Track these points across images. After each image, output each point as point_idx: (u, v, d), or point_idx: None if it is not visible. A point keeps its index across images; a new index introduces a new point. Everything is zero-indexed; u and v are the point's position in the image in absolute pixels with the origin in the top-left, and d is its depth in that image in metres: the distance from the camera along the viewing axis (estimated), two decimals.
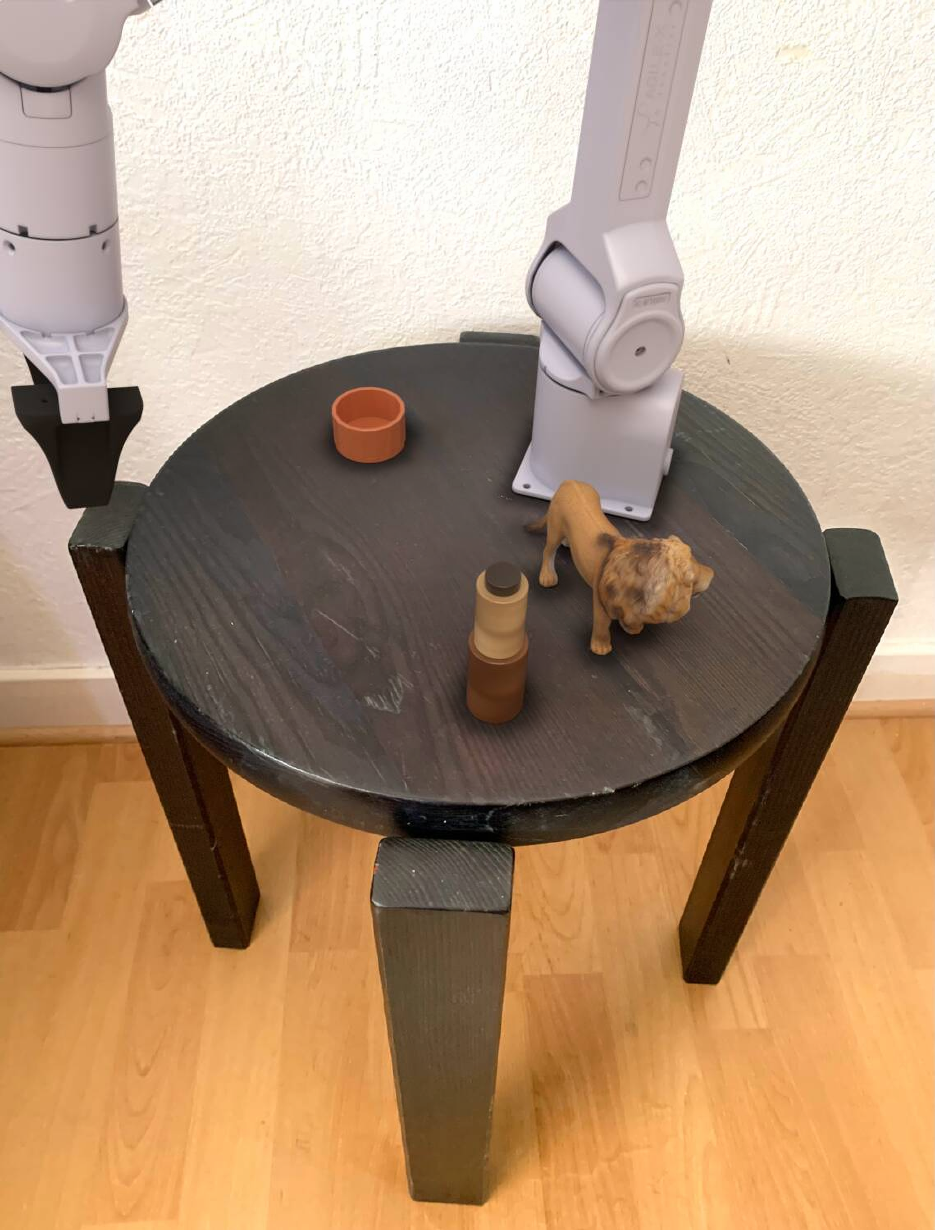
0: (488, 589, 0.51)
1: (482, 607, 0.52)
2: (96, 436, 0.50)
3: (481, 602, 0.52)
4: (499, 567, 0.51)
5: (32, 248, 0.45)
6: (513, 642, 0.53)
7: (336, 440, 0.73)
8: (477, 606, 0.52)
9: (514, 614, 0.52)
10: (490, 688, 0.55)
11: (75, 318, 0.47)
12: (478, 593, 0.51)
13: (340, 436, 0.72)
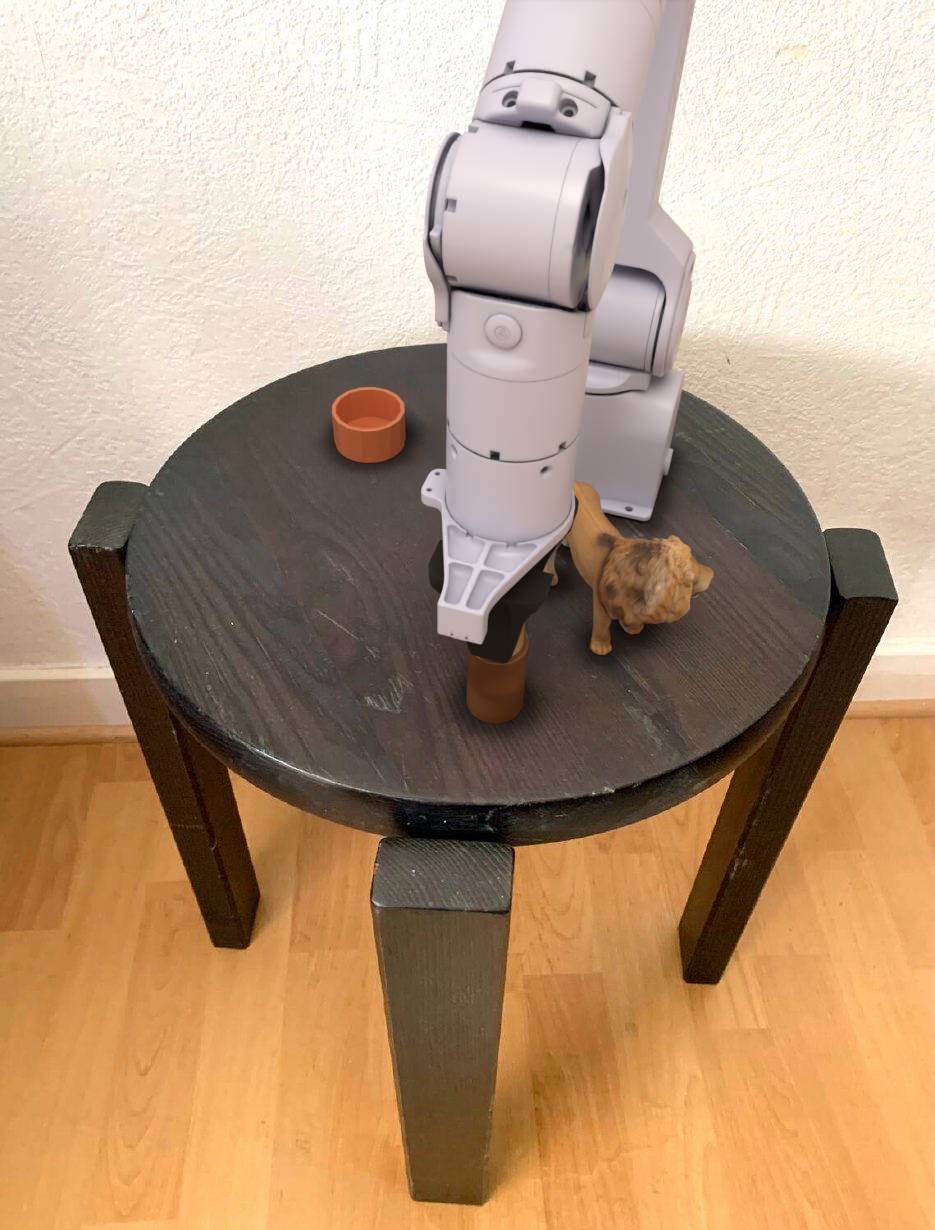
0: None
1: None
2: (504, 605, 0.50)
3: None
4: None
5: (470, 459, 0.43)
6: None
7: (336, 440, 0.73)
8: None
9: None
10: (490, 688, 0.55)
11: (499, 528, 0.45)
12: None
13: (340, 436, 0.72)
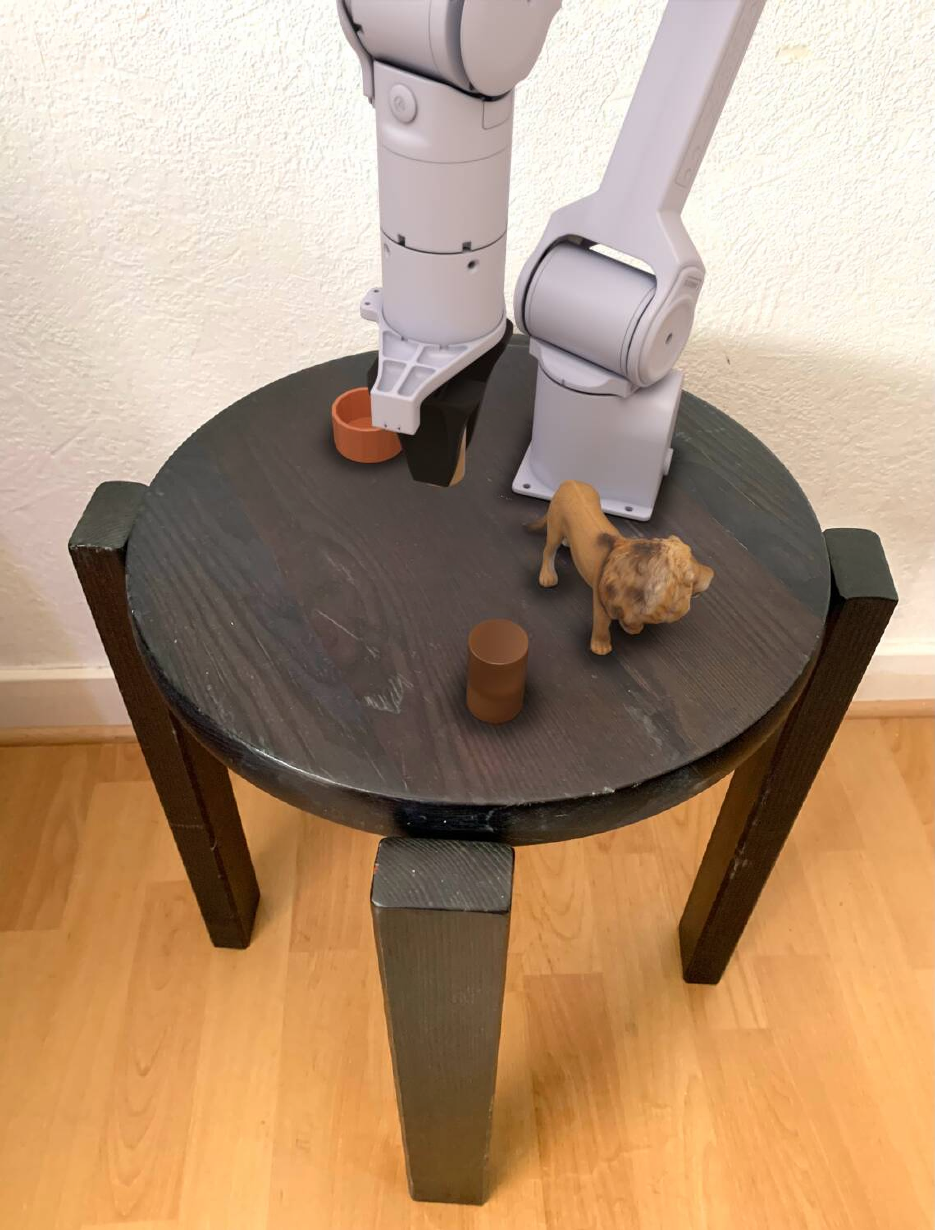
0: None
1: None
2: (441, 420, 0.52)
3: None
4: None
5: (401, 255, 0.45)
6: None
7: (336, 440, 0.73)
8: None
9: None
10: (490, 688, 0.55)
11: (431, 329, 0.47)
12: None
13: (340, 436, 0.72)
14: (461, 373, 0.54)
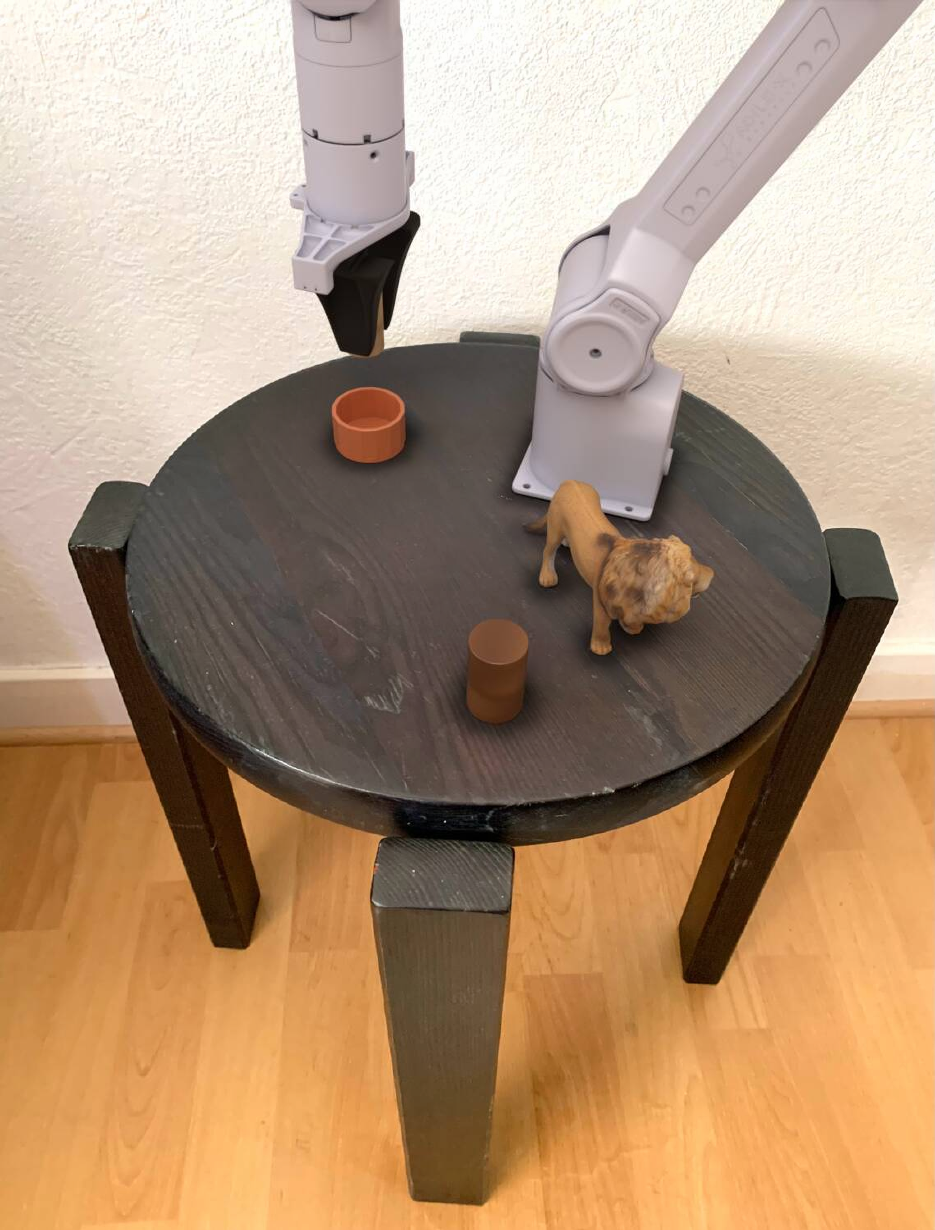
0: None
1: None
2: (359, 294, 0.63)
3: None
4: None
5: (316, 147, 0.56)
6: None
7: (336, 440, 0.73)
8: None
9: None
10: (490, 688, 0.55)
11: (344, 211, 0.58)
12: None
13: (340, 436, 0.72)
14: None
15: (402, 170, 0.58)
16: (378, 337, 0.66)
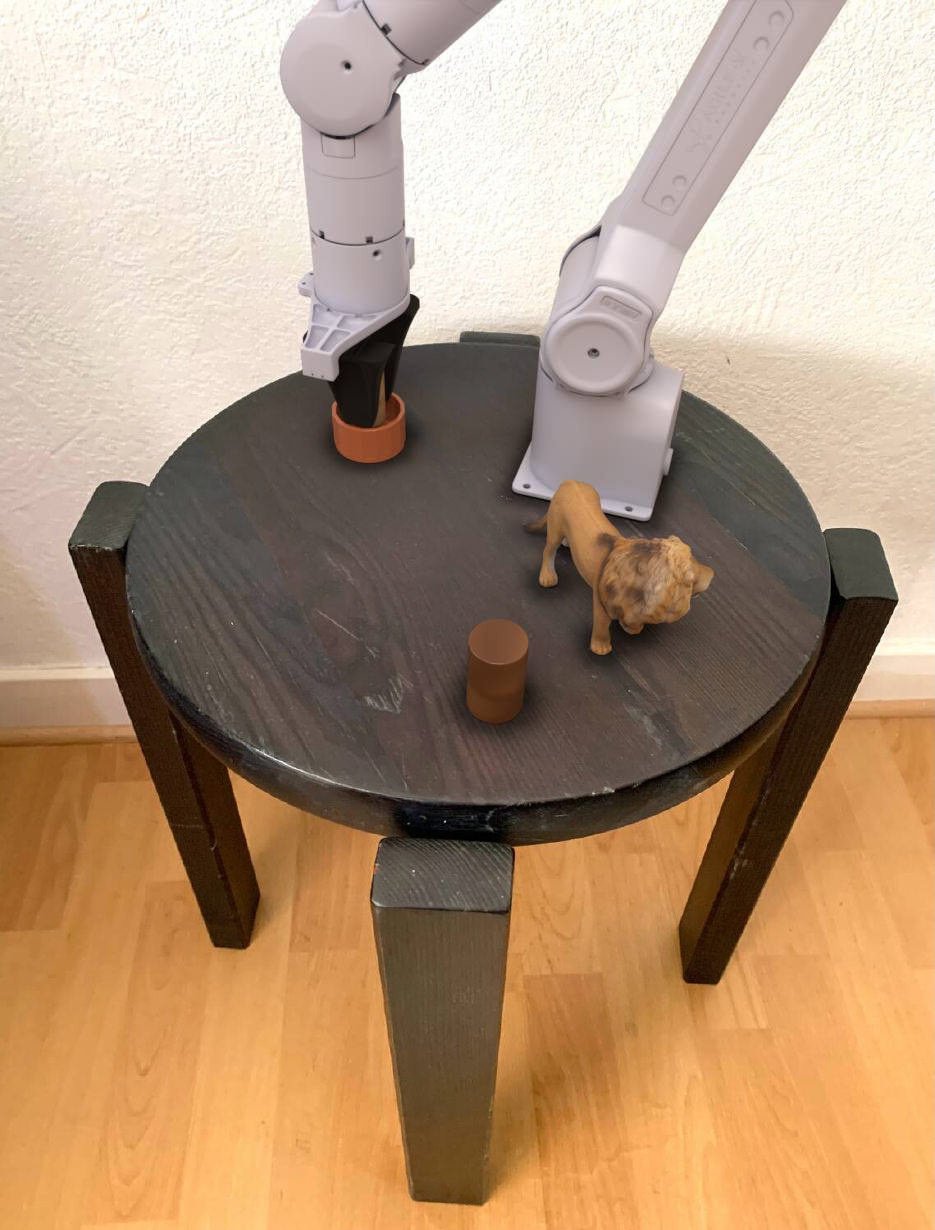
0: None
1: None
2: (362, 373, 0.67)
3: None
4: None
5: (323, 246, 0.61)
6: None
7: (336, 440, 0.73)
8: None
9: None
10: (490, 688, 0.55)
11: (348, 302, 0.63)
12: None
13: (340, 436, 0.72)
14: (380, 339, 0.69)
15: (402, 264, 0.63)
16: (380, 409, 0.71)
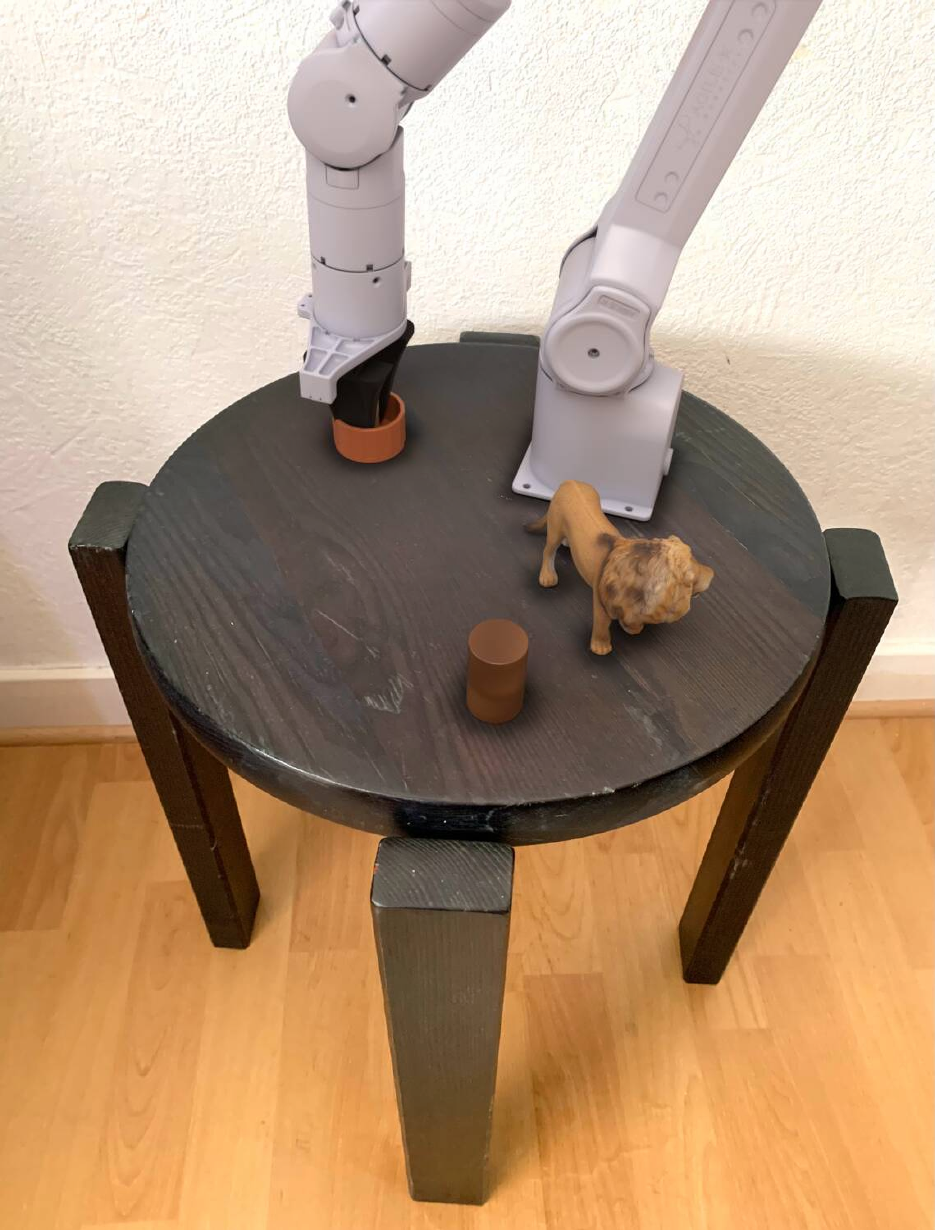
0: None
1: None
2: (360, 391, 0.69)
3: None
4: None
5: (324, 272, 0.62)
6: None
7: (336, 440, 0.73)
8: None
9: None
10: (490, 688, 0.55)
11: (347, 327, 0.64)
12: None
13: (340, 436, 0.72)
14: None
15: (401, 290, 0.64)
16: (374, 427, 0.72)
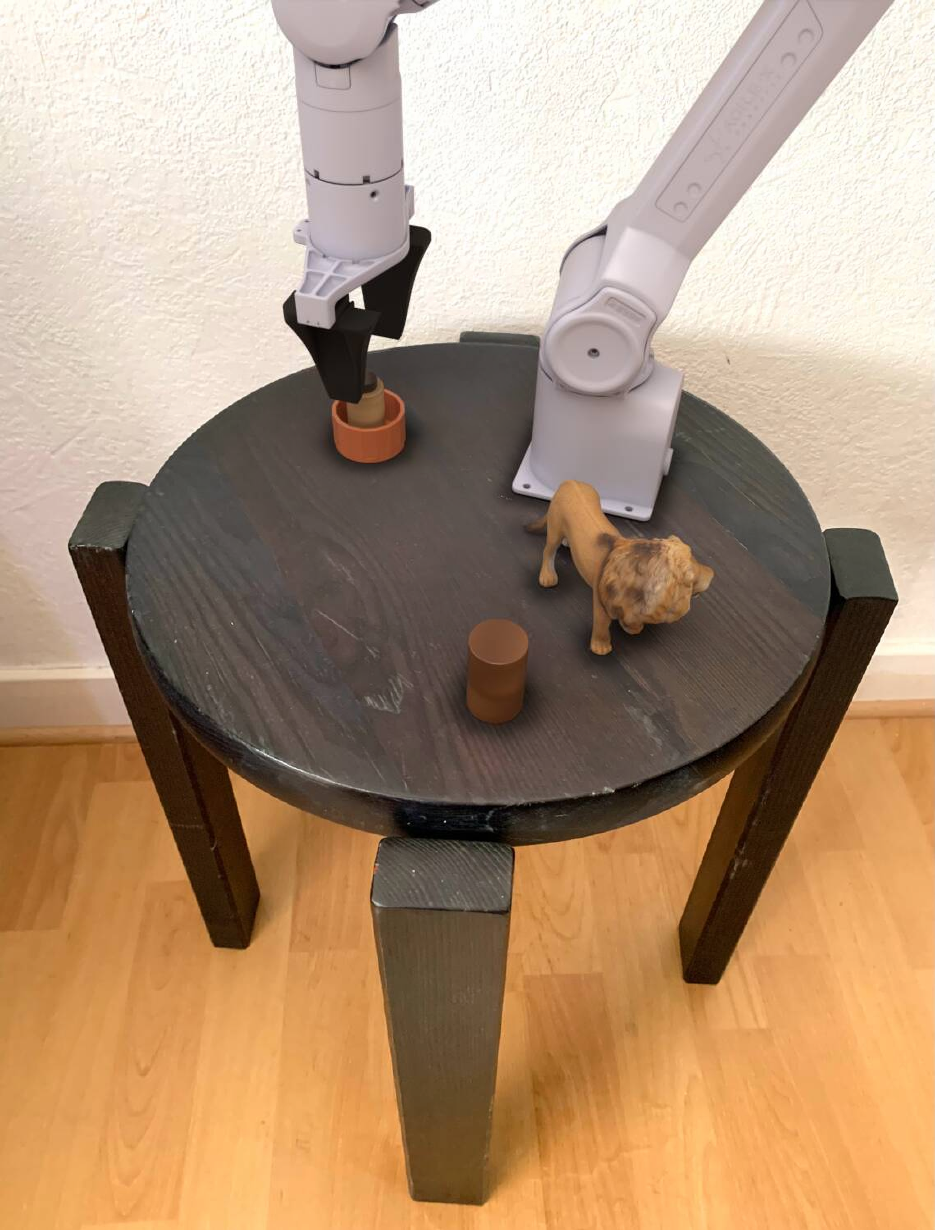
0: None
1: None
2: (347, 344, 0.63)
3: None
4: None
5: (318, 187, 0.58)
6: None
7: (336, 440, 0.73)
8: None
9: (372, 407, 0.70)
10: (490, 688, 0.55)
11: (345, 248, 0.60)
12: None
13: (340, 436, 0.72)
14: (391, 273, 0.68)
15: (401, 207, 0.60)
16: None
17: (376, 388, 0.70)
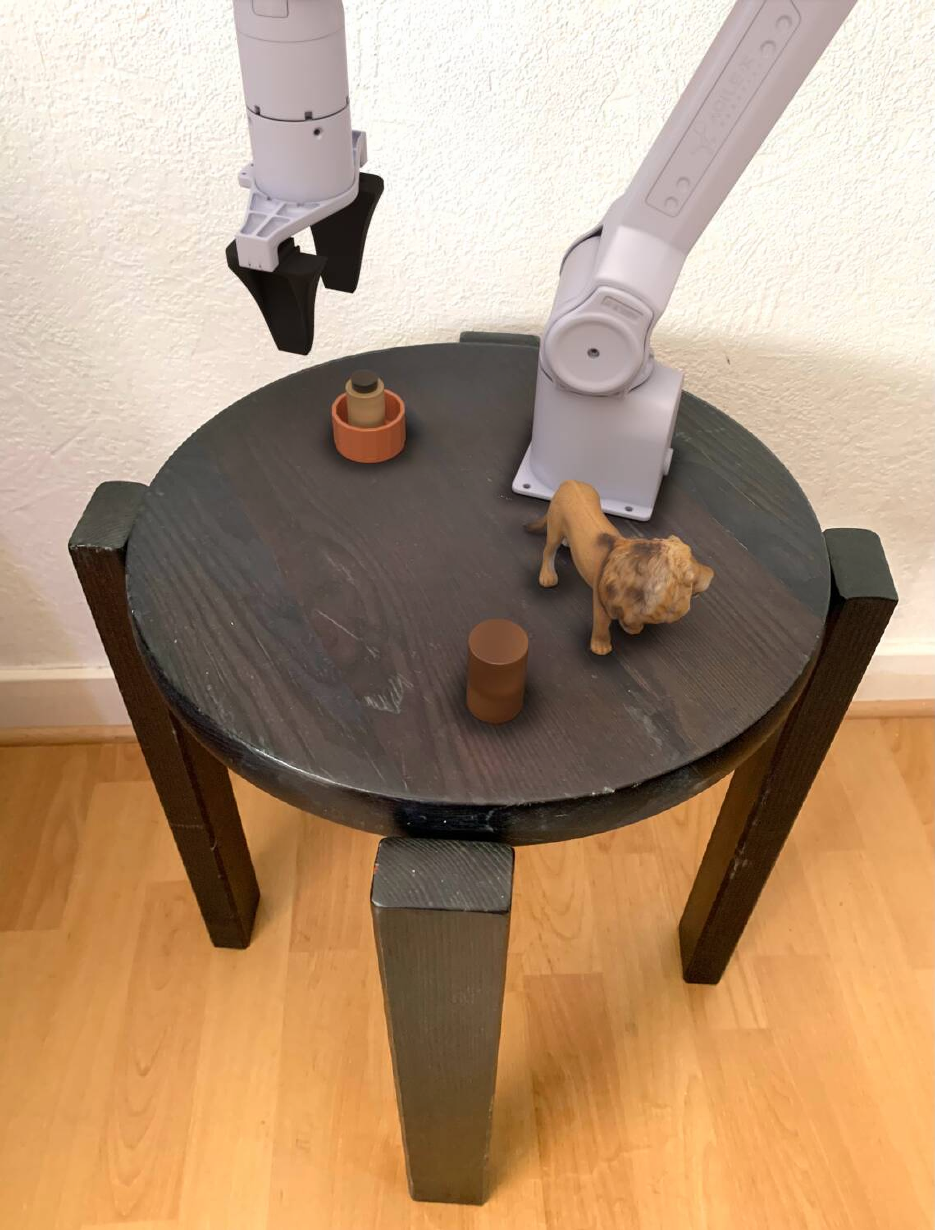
0: (353, 388, 0.70)
1: (349, 402, 0.71)
2: (293, 292, 0.61)
3: (348, 399, 0.70)
4: (362, 373, 0.70)
5: (259, 124, 0.56)
6: None
7: (336, 440, 0.73)
8: (347, 403, 0.71)
9: (373, 408, 0.71)
10: (490, 688, 0.55)
11: (289, 189, 0.58)
12: (346, 391, 0.70)
13: (340, 436, 0.72)
14: (343, 222, 0.66)
15: (348, 148, 0.59)
16: None
17: (377, 388, 0.70)
